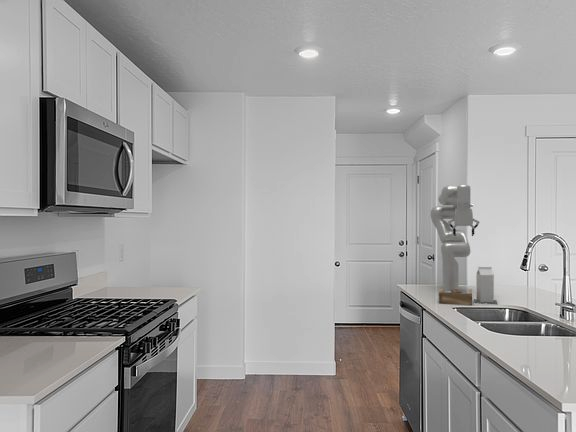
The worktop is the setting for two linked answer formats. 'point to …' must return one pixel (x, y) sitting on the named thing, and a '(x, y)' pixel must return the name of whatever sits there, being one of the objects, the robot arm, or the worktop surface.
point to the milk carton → (485, 284)
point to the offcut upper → (455, 291)
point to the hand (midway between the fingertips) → (463, 235)
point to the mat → (485, 302)
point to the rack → (455, 298)
